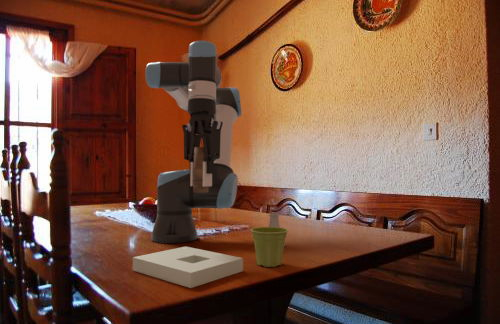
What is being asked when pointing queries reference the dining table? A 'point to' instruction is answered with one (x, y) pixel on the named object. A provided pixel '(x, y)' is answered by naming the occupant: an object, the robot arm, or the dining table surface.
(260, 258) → the plant pot
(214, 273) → the board
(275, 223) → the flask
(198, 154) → the peg
